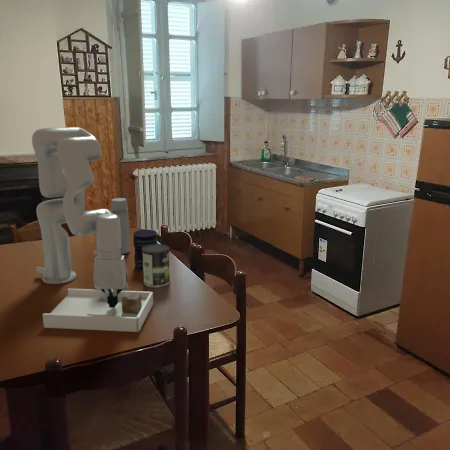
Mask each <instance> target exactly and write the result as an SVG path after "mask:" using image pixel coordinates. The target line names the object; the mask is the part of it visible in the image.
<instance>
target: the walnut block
mask: <svg viewBox="0 0 450 450" xmlns="http://www.w3.org/2000/svg"><path fill="white" fill-rule="evenodd" d="M141 307H142V303H141V293H131V292H126V293H125V295H124V296H123V297H122V313H130V314H138V312H139V311H140V309H141Z"/></svg>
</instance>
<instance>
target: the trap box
mask: <svg viewBox="0 0 450 450" xmlns="http://www.w3.org/2000/svg"><path fill="white" fill-rule="evenodd" d="M126 292H131V293H141V303H142V307H141V309H140V311H139V312H138V314H130V313H122V297H123V296H124V295H125V293H126ZM112 293H113V290H112ZM154 304H155V303H154V291H142V290H141V291H140V290H139V291H137V290H126V291H121V292H120V293H119V294H118V304H117V305H116V306H115V308H112V307H111V308H109V304H108V301H107V296H106V295H105V293H104V292H103V291H102V290H97V289H95V288H94V289H90V288H70V287H69V288H67V294H66V296H65V297H64V299H62V300H61V301H60V302H59V303H58V304H57V306H55V308H54V309H52V311H51V312H50V313H45V312H44V313H42V321H43V328H44V329H45V328H47V329H68V330H85V331H87V330H89V331H107V332H108V331H110V332H111V331H112V332H115V331H116V332H132V333H139V332H140V331H141V329H142V327H143V325H144V324H145V323H144V322H145V321H146V319H147V317H148V315H149V313H150V311H151V309H152V308H153V305H154Z"/></svg>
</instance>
